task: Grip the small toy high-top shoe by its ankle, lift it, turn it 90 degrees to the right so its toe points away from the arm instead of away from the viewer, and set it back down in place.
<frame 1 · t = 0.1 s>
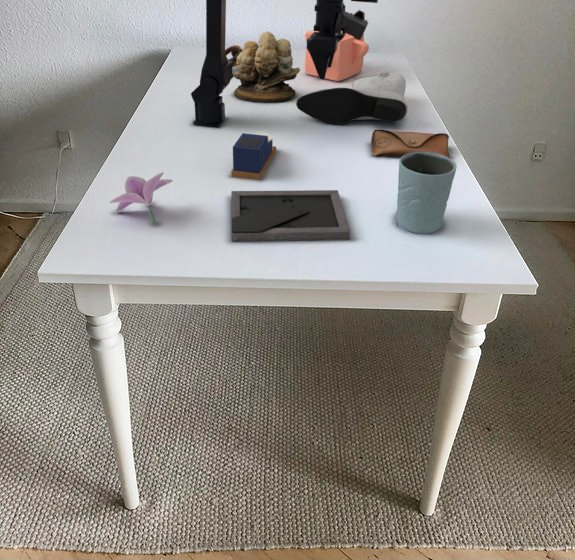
hand: (325, 73, 141), 15 cm above the table, tool pointing down, fingers open, 9 cm apart
lily: (144, 216, 116), on the table
toy high-top shoe: (245, 178, 129), on the table
teapot: (329, 76, 188), on the table
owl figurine: (266, 96, 171), on the table
sunglasses case: (410, 153, 143), on the table
cowboy boot: (354, 110, 164), on the table
green embossed cup: (417, 222, 117), on the table
picture frame: (287, 218, 116), on the table
pottery mug: (237, 70, 190), on the table
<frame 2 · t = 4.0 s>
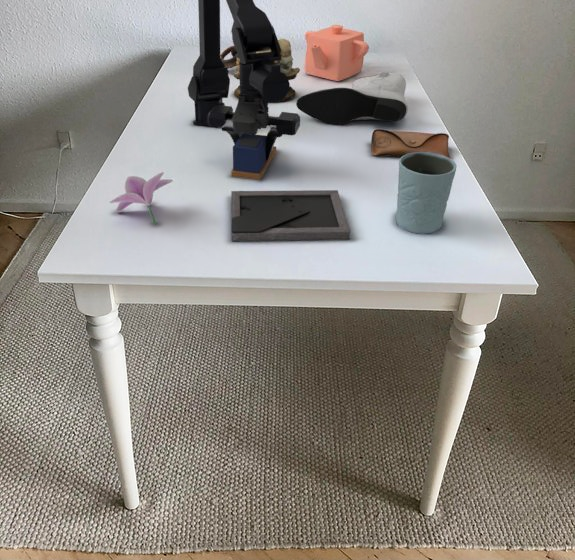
hand: (254, 157, 134), 2 cm above the table, tool pointing down, fingers closed on toy high-top shoe, 5 cm apart
toy high-top shoe: (245, 178, 129), on the table, touching gripper
everything else where it was.
when the fingers open (1 cm above the table, at t = 10.1 s): toy high-top shoe stays where it is, on the table.
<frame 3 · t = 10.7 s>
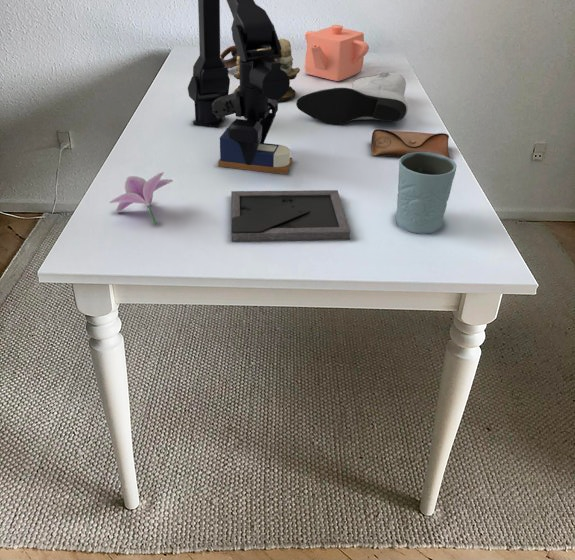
hand: (254, 155, 134), 2 cm above the table, tool pointing down, fingers open, 9 cm apart
toy high-top shoe: (222, 160, 136), on the table
everything else where it was.
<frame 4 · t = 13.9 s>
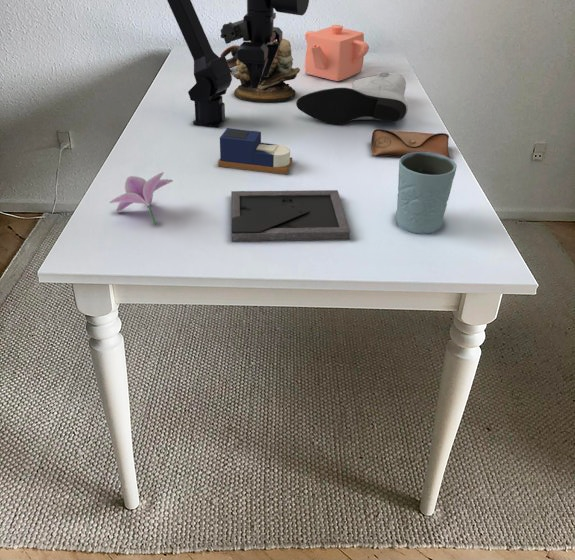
hand: (260, 81, 142), 13 cm above the table, tool pointing down, fingers open, 9 cm apart
nothing on the table moved.
at the end: toy high-top shoe 0.2 cm from the target spot, on the table; toy high-top shoe tilted 0°; the gripper is holding nothing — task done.
